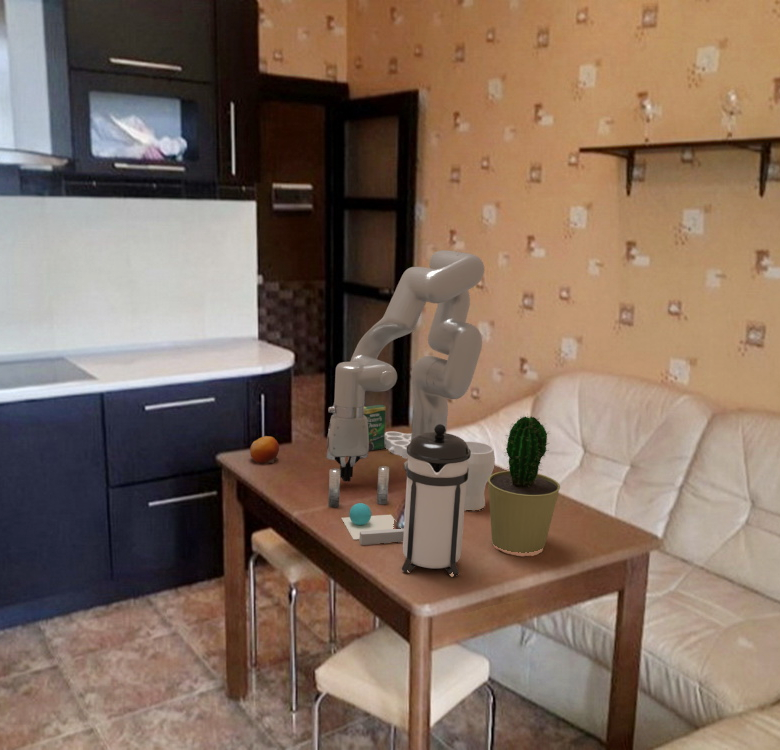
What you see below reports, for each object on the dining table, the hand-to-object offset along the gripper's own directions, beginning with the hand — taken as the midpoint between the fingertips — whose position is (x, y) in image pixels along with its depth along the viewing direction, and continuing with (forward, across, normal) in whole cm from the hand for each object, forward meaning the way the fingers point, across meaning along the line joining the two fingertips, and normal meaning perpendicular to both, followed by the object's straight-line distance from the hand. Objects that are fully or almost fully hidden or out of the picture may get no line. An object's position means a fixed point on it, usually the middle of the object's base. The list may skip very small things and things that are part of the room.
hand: (346, 479), depth 210 cm
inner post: (+2, +6, -13) cm, 14 cm away
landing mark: (+2, 0, -27) cm, 27 cm away
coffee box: (+2, +14, +28) cm, 31 cm away
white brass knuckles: (+2, +25, +27) cm, 37 cm away
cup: (+2, +27, -18) cm, 32 cm away
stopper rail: (+2, +1, -35) cm, 35 cm away
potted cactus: (+2, +29, -42) cm, 51 cm away
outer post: (+2, -6, -13) cm, 14 cm away
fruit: (+2, -18, +22) cm, 28 cm away
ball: (-1, -3, -25) cm, 25 cm away
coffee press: (+2, +7, -46) cm, 46 cm away
